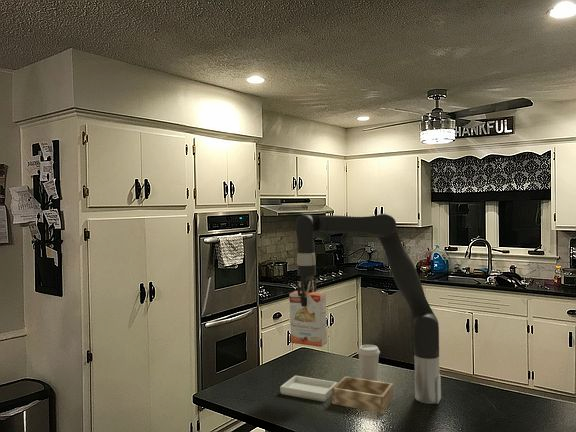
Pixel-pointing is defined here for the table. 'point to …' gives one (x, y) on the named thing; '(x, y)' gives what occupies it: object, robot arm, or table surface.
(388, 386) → the oak holder
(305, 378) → the white tray
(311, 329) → the cracker box
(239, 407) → the table surface
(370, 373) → the coffee cup
